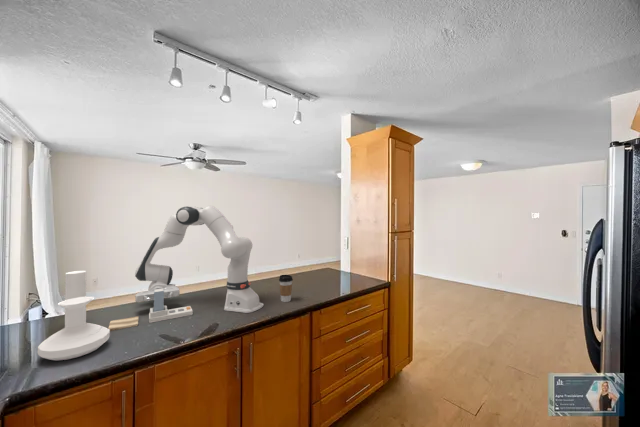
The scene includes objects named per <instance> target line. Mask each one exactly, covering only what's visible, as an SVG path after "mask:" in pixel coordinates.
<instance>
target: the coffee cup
mask: <svg viewBox="0 0 640 427" xmlns="http://www.w3.org/2000/svg"><path fill="white" fill-rule="evenodd" d="M293 280H294V279H293V276H292V275H290V274H281V275H279V279H278V281H279V293H280V301H281V302H282V303H288V302H291V299H292V290H293Z"/></svg>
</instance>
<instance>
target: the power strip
mask: <svg viewBox="0 0 640 427" xmlns="http://www.w3.org/2000/svg"><path fill="white" fill-rule="evenodd" d="M193 310H194V309H193V308H192V307H191V305H187V306H182V307H176V308H171V309H168V306H167V305H164V310H162V311H156V312H154V307H150V308H149V313H148V322H149V323H150V324H151V323H155V322H161V321H166V320H167V321H168V320H172V319H177V318H178V319H179V318H184V317H189V316H193V315H194V314H193V313H194V311H193Z"/></svg>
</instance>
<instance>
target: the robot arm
mask: <svg viewBox="0 0 640 427" xmlns="http://www.w3.org/2000/svg"><path fill="white" fill-rule="evenodd" d="M202 225H206V227H207V228H208V229H209V231H210V232H211V233H212V234H213V235H214V236H215V237H216V239H217V241H218V243H219V245H220V253H221V254H222V256H223V257H224V258H227V259H230V261H229V265H228V266H227V280H226V290H227V291H226V297H225V302H224V306H223V307H224V308H223V310H224V311H227V312H237V313H244V314H245V313H246V314H247V313H253V312H256V311H258V310H260V309H262V308H263V307H264V306H265V305H264V303H263V302H261V301H260V297H259V295H258V293H257V292H255V290H254V289H253V288H251V286H250V285H251V284H252V282H250V280H248V275H249V274H248V273H249V271H248V268H249V262H250V257H251V251H252V249H253V243H252V240H251V239H250V238H248V237H244V236H240V237H239V236H237V234H236V232H235V230H234V226H233V225H232V223H231V222H230V221H229V220H228V219H227V218H226V216H225V215H224V214H223V213H222V212H221V211H220V210H219V209H218V208H216V207H215V206H214V205H207V206H205V207H204V208H203V207H196V206H189V205H188V206H183V207H180V208H178V210H177V211H176V212H175V213H172V215H170V217H169V218H168V221H167V222H166V225H165V227H164V231H163V232H162V234H161V235H159V236H158V237H155V238H154V240H153V241H152V242H151V243H150V246H149V248H148V249H147V251H146V253H145V255H144V257H143V258H142V260H141V262H140V264H139V265H138V266H137V268H136V270H135V273H134V275H135V276H134V277H135V278H136V279H137V280H138V281H140V282H146V281H148V282H150V284H149V286H148V290H145V291H139V292H137V293H136V294H135V295H134V297H135V303H141V302H150V301H154V290H156V289H163V290H164V299H166V298H167V299H171V298H175V297H179V296H180V288H179V287H178V286H176V284H175V283H171V282H172V279H173V274H174V272H173V271H174V270H173V269H172V266H169V265H163V264H155V263H151V262H152V260H153V258H154V256H155V254H156V253H157V252H158V251H160V250H163V249H168V248H173V247H176V246H178V245H180V244H181V243H182V242H183V241H184V238H185V235H186V233H187V232H186V231H187V229H188V228H189V226H202Z"/></svg>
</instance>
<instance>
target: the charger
mask: <svg viewBox="0 0 640 427" xmlns="http://www.w3.org/2000/svg"><path fill="white" fill-rule="evenodd" d="M164 300H165V298H164V290H163V289H156V290H154V300H153V308H154V312H156V311H162V310H164V306H165V305H164V304H165V301H164Z"/></svg>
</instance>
